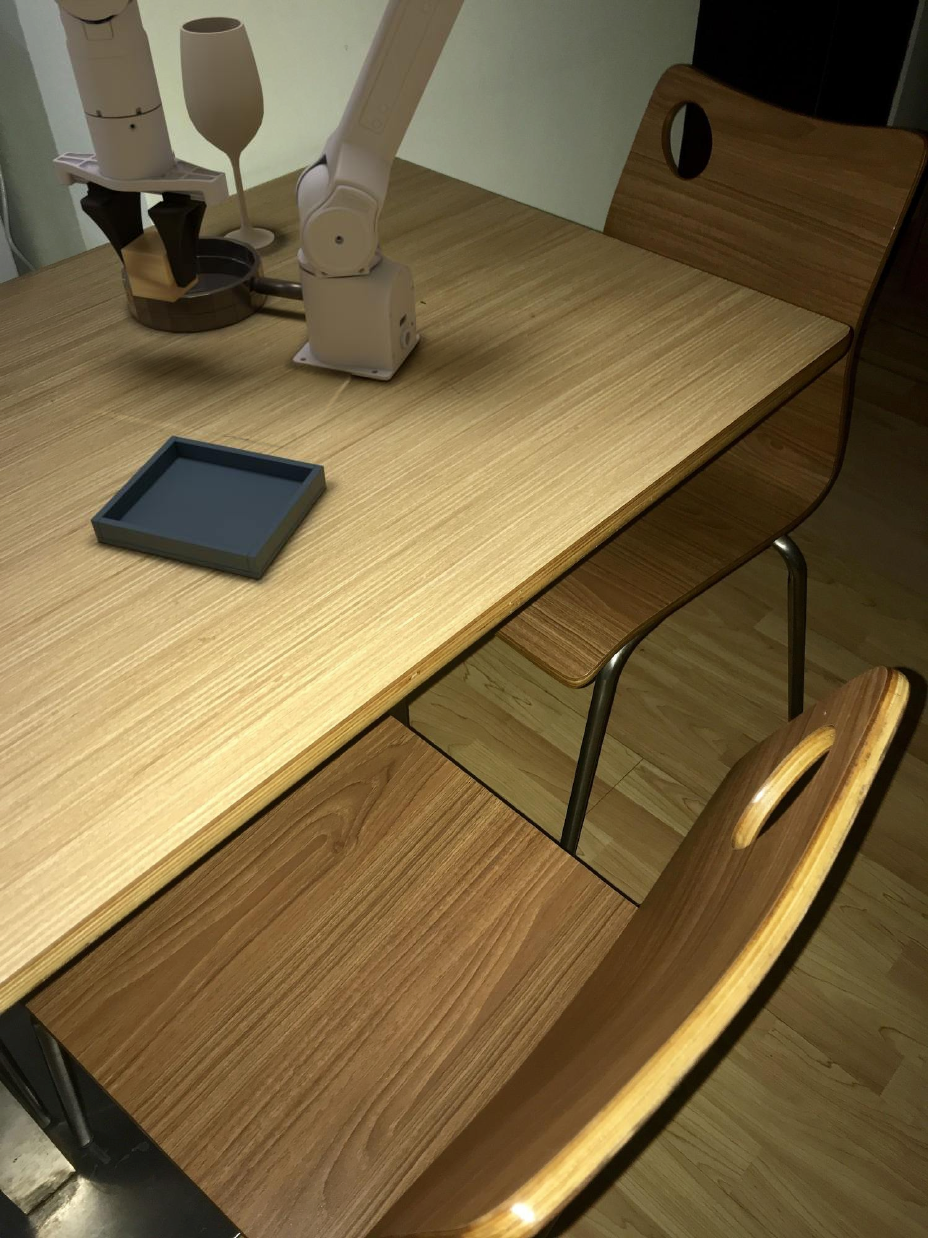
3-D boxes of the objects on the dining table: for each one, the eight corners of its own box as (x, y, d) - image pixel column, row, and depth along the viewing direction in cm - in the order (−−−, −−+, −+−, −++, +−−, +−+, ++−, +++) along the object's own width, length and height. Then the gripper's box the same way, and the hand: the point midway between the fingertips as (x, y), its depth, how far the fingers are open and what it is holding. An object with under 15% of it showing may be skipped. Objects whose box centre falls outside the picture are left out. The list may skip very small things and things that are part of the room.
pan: (289, 283, 101) (284, 245, 98) (226, 346, 92) (218, 305, 89) (176, 266, 104) (168, 228, 101) (105, 325, 95) (93, 285, 93)
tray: (326, 486, 77) (323, 465, 75) (259, 579, 69) (254, 557, 68) (177, 455, 80) (172, 434, 78) (97, 541, 72) (89, 519, 71)
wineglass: (298, 237, 109) (269, 20, 94) (252, 264, 104) (213, 40, 90) (245, 222, 112) (209, 9, 97) (198, 248, 107) (153, 28, 93)
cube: (198, 281, 85) (188, 235, 82) (173, 302, 83) (162, 255, 80) (158, 274, 86) (147, 229, 83) (132, 295, 84) (120, 249, 81)
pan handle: (333, 299, 94) (331, 283, 93) (326, 307, 93) (324, 291, 92) (257, 288, 96) (255, 272, 95) (250, 295, 95) (247, 279, 94)
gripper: (234, 97, 75) (262, 269, 85) (73, 80, 79) (118, 246, 88) (185, 129, 70) (221, 307, 80) (16, 108, 74) (70, 281, 84)
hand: (164, 278), depth 84 cm, fingers closed on cube, 4 cm apart
